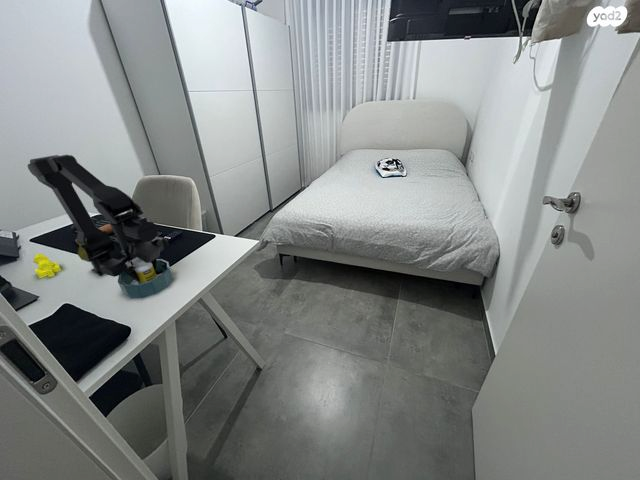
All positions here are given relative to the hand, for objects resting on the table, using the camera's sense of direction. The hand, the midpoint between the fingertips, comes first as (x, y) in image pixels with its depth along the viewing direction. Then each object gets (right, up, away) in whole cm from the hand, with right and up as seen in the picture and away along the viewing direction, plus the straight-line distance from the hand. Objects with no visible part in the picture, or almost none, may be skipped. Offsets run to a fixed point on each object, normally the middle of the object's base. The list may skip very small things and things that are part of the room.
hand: (146, 276), depth 84 cm
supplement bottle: (0, -3, +2) cm, 3 cm away
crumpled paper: (-40, 0, +8) cm, 41 cm away
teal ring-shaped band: (0, -3, +2) cm, 3 cm away
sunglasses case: (-42, +14, +32) cm, 54 cm away
